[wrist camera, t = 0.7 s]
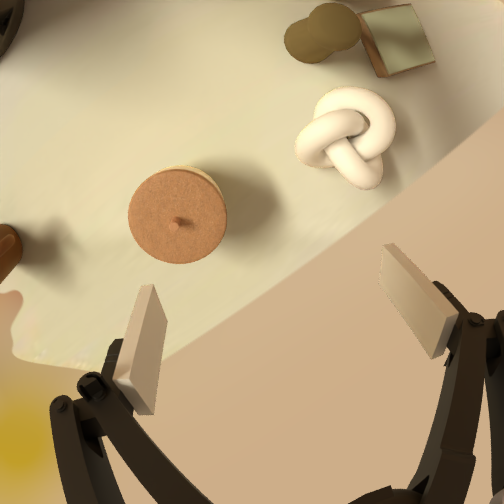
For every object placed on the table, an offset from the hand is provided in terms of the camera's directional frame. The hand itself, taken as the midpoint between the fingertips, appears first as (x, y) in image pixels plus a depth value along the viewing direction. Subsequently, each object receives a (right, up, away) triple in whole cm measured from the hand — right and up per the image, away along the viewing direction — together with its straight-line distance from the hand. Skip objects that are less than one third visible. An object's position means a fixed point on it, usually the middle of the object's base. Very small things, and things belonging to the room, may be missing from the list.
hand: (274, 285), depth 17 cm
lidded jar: (-10, +9, +21) cm, 25 cm away
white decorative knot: (+9, +18, +19) cm, 28 cm away
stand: (+17, +30, +13) cm, 37 cm away
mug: (-39, +4, +21) cm, 45 cm away
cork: (+6, +27, +13) cm, 31 cm away
